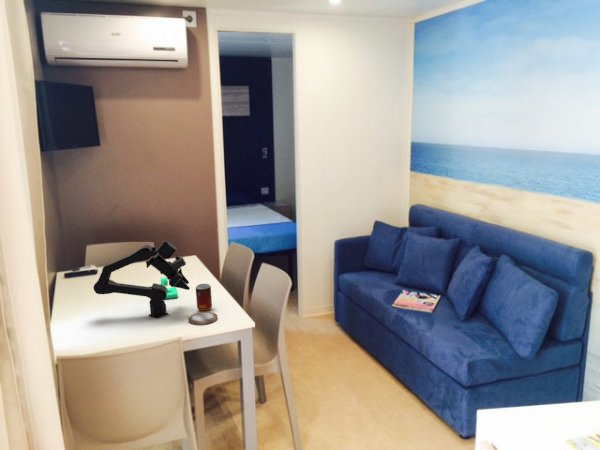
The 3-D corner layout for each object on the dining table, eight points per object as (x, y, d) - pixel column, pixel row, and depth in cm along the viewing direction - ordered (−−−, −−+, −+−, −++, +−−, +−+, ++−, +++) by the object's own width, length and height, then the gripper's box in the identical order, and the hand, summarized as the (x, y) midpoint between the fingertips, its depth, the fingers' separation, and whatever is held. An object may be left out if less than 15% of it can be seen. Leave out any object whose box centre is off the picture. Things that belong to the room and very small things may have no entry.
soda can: (197, 307, 243) (196, 283, 240) (212, 306, 243) (211, 282, 241) (196, 313, 236) (194, 288, 234) (211, 312, 237) (210, 287, 234)
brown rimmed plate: (201, 327, 218) (201, 324, 218) (182, 321, 226) (182, 318, 226) (223, 318, 228) (223, 315, 228) (204, 312, 236) (204, 309, 236)
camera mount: (178, 298, 257) (176, 279, 255) (162, 300, 255) (161, 281, 253) (176, 291, 268) (175, 273, 266) (161, 293, 266) (160, 275, 264)
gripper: (174, 257, 222) (201, 278, 227) (174, 248, 240) (199, 268, 245) (157, 276, 222) (185, 297, 227) (158, 265, 239) (183, 285, 244)
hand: (188, 286), depth 235 cm, fingers open, 9 cm apart
